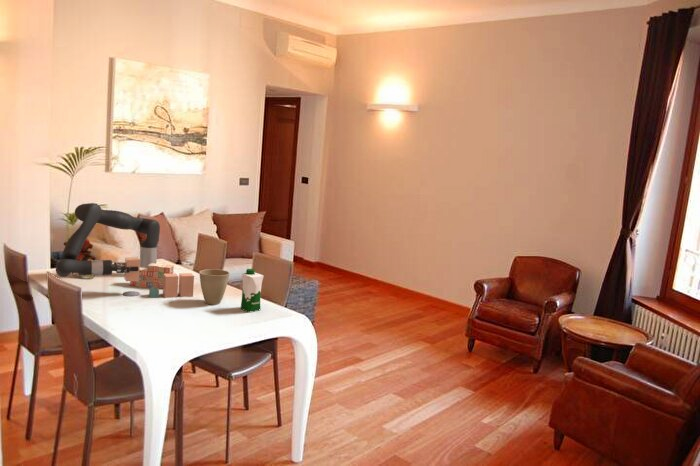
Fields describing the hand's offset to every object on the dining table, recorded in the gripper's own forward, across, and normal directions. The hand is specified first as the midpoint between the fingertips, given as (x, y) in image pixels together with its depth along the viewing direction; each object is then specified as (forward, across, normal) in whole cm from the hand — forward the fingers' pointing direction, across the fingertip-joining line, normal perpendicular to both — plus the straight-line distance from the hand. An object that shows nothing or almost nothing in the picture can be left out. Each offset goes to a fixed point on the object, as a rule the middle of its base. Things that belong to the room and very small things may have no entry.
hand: (137, 267), depth 282 cm
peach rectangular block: (+24, -6, +14) cm, 28 cm away
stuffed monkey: (-22, +40, +14) cm, 48 cm away
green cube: (+8, -6, +14) cm, 17 cm away
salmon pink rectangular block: (-2, 0, +6) cm, 7 cm away
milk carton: (+49, -37, +14) cm, 63 cm away
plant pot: (+34, -22, +14) cm, 43 cm away
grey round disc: (-2, 0, +14) cm, 14 cm away
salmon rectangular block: (+16, -6, +14) cm, 22 cm away
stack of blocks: (+10, +14, +14) cm, 23 cm away
